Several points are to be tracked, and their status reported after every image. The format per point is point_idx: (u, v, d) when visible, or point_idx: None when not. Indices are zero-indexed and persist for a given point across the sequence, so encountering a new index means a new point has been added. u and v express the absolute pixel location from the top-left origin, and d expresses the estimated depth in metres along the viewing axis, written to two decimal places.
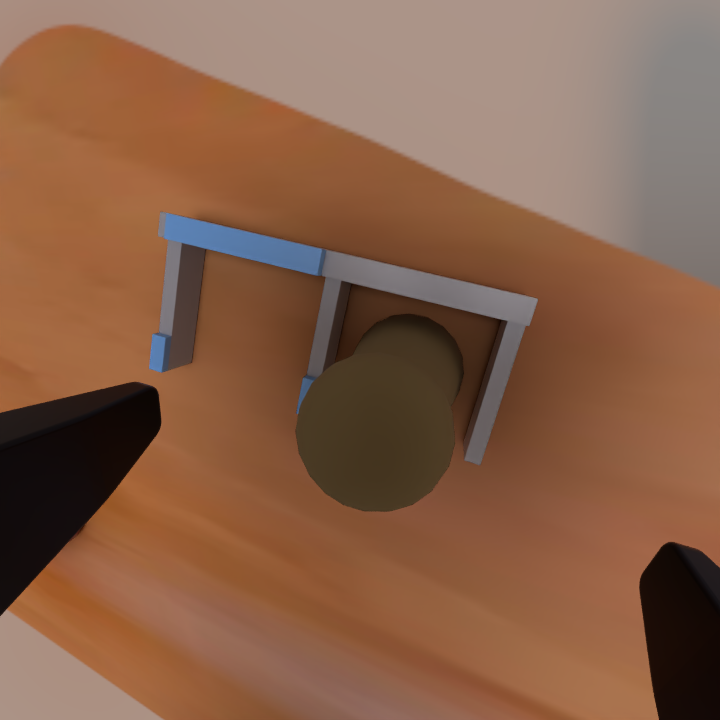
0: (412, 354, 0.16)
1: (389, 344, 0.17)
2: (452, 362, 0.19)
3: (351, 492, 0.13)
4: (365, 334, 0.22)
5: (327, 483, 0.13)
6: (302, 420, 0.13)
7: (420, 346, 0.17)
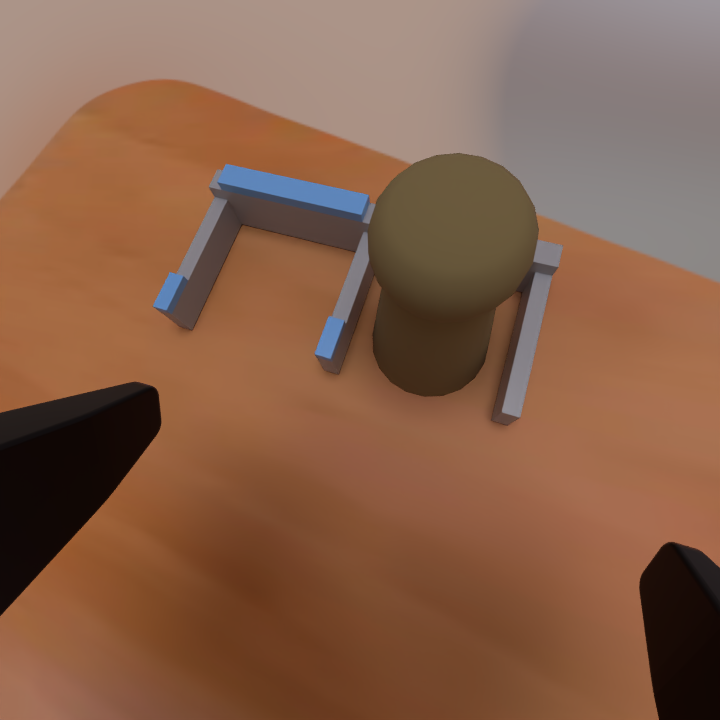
0: None
1: None
2: None
3: (440, 251, 0.11)
4: None
5: (410, 246, 0.11)
6: (385, 193, 0.12)
7: None
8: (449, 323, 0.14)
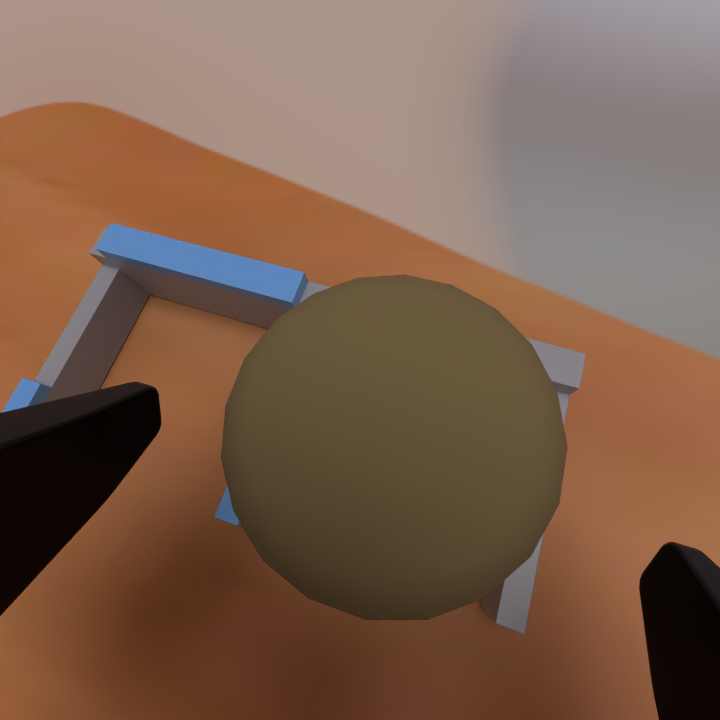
0: None
1: None
2: None
3: (343, 531, 0.05)
4: None
5: (280, 508, 0.05)
6: (248, 360, 0.06)
7: None
8: None
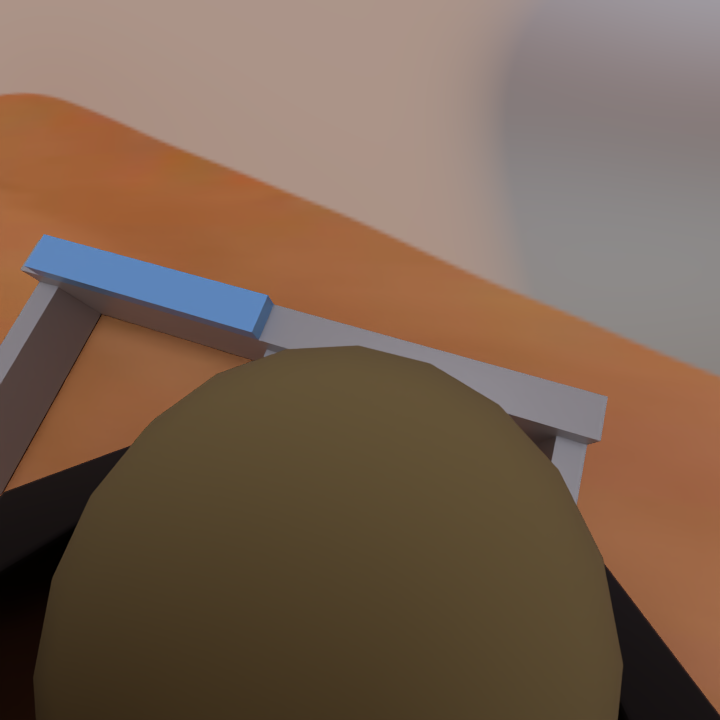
0: None
1: None
2: None
3: None
4: None
5: None
6: (87, 506, 0.04)
7: None
8: None
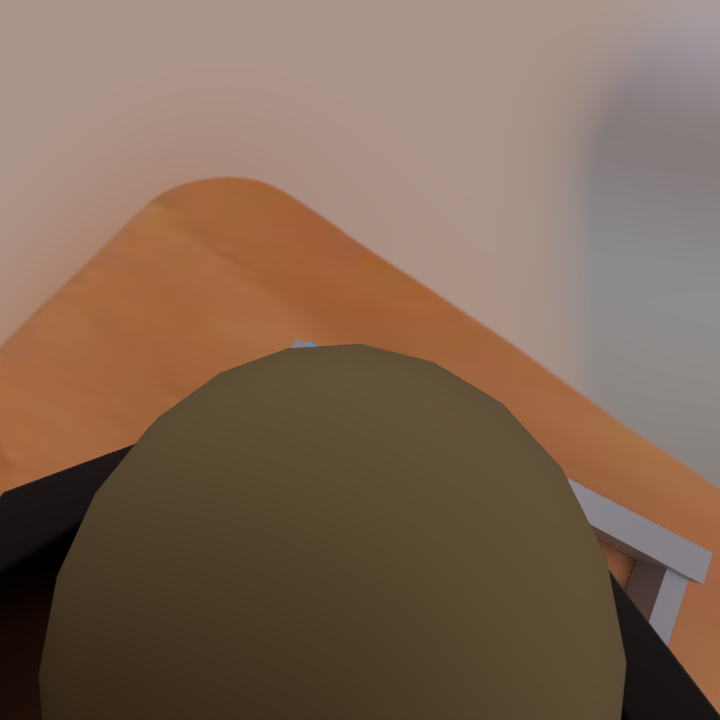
0: None
1: None
2: None
3: None
4: None
5: None
6: (92, 504, 0.04)
7: None
8: None
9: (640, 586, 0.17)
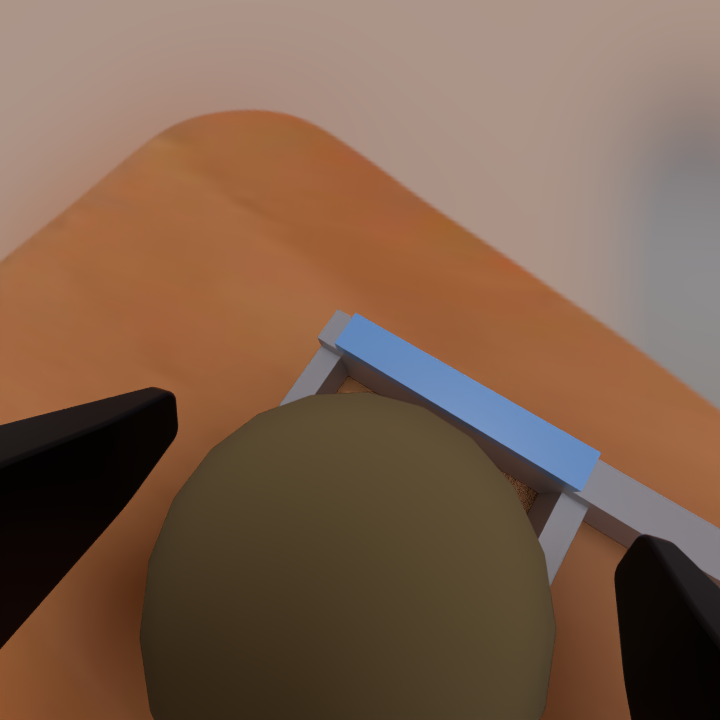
0: None
1: None
2: None
3: None
4: None
5: None
6: (171, 516, 0.05)
7: None
8: None
9: None
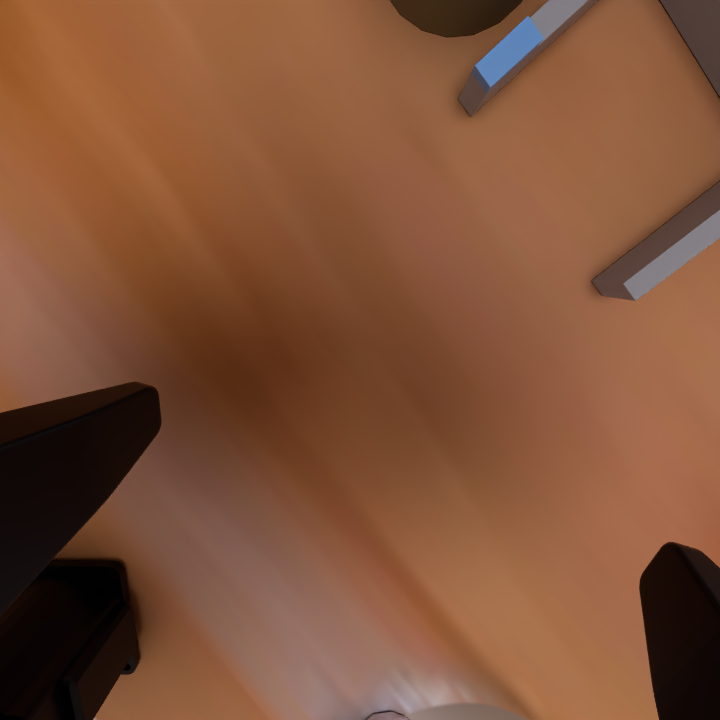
0: None
1: None
2: None
3: None
4: None
5: None
6: None
7: None
8: None
9: None
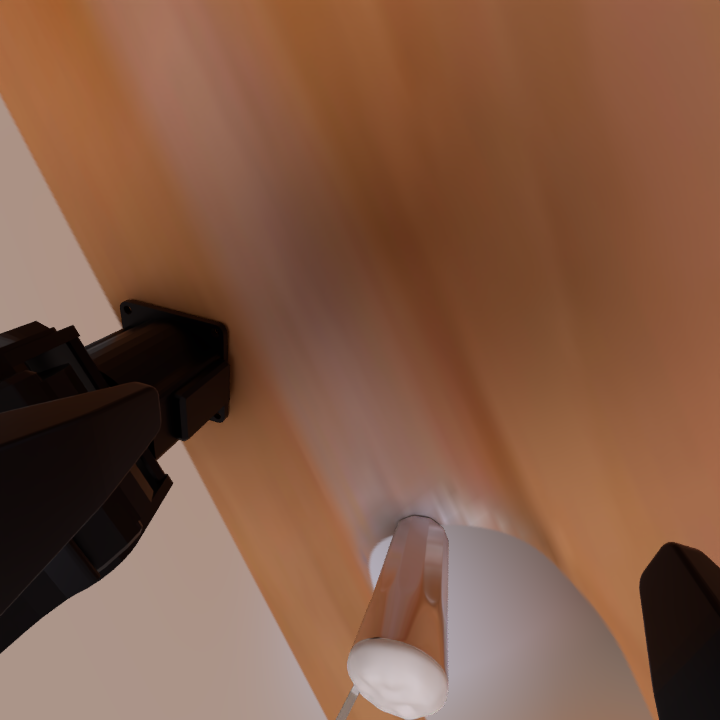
0: None
1: None
2: None
3: None
4: None
5: None
6: None
7: None
8: None
9: None
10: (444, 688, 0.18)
